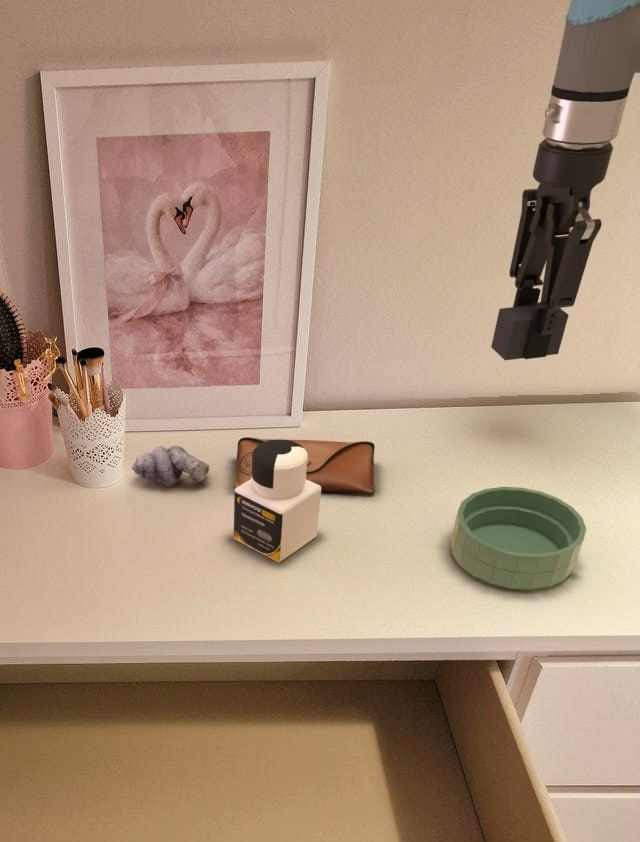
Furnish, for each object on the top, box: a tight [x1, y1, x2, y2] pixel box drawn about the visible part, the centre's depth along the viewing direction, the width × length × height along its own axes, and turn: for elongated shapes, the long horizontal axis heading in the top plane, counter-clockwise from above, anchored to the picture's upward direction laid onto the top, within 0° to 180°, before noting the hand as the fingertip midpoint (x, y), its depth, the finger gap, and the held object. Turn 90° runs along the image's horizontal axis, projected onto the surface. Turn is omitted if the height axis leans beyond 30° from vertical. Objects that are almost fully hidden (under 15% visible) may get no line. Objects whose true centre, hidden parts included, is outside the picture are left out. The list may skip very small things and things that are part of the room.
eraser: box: [490, 305, 569, 361], centre depth 108 cm, size 7×4×5 cm, turn 99°
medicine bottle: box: [233, 438, 322, 563], centre depth 99 cm, size 7×7×12 cm
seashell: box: [131, 444, 210, 488], centre depth 111 cm, size 5×5×10 cm
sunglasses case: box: [234, 436, 376, 495], centre depth 111 cm, size 18×7×7 cm
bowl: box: [450, 486, 587, 591], centre depth 97 cm, size 13×13×5 cm
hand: (525, 348), depth 109 cm, fingers closed on eraser, 4 cm apart
